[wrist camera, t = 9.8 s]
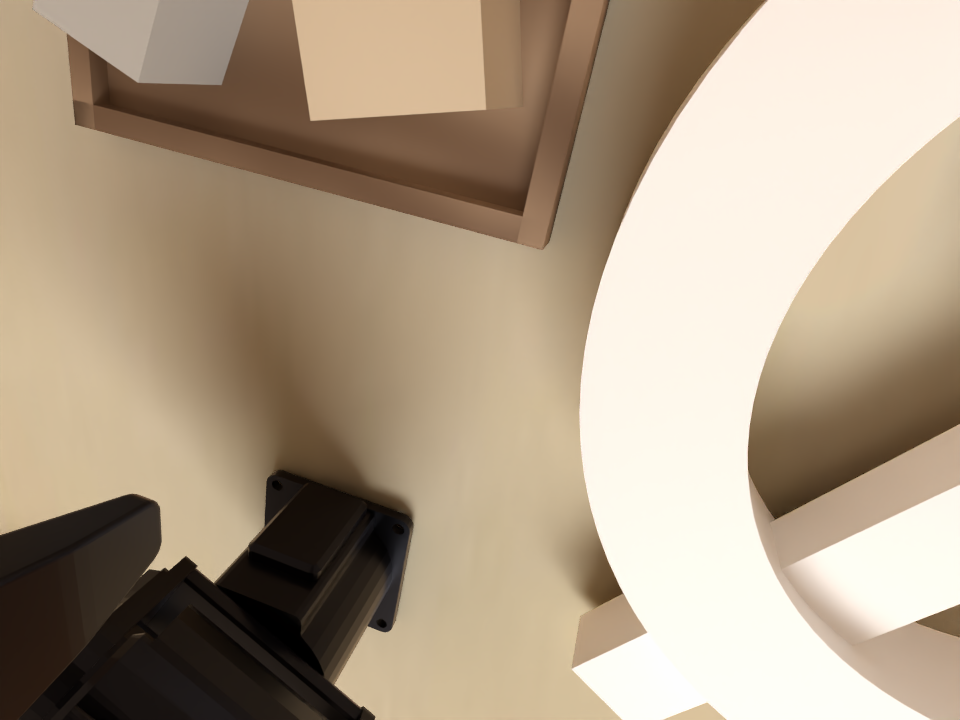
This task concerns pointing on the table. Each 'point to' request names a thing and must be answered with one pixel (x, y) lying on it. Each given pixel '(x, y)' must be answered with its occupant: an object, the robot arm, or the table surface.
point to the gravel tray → (371, 124)
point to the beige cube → (154, 35)
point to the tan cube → (408, 56)
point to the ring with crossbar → (733, 383)
